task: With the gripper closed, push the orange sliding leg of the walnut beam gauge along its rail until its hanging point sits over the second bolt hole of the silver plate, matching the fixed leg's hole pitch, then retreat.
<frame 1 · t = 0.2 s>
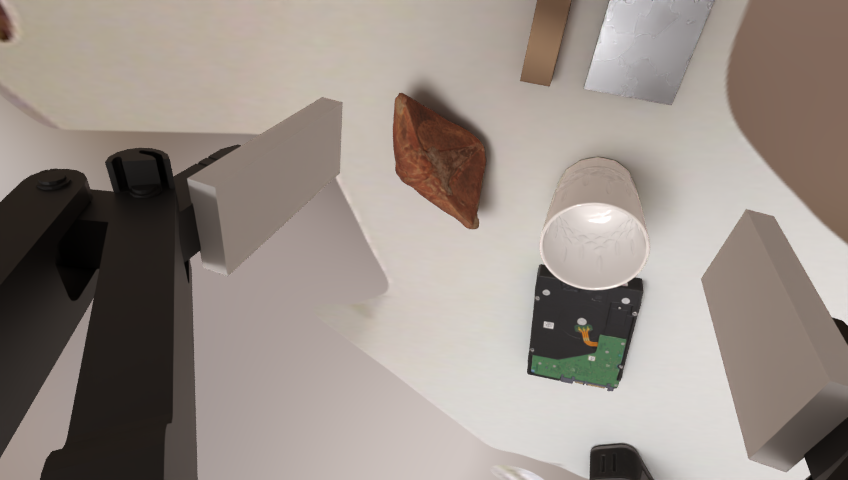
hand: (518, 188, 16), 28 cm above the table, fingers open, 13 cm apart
electronic device: (622, 464, 63), on the table
disk drive: (580, 320, 53), on the table
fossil: (445, 148, 46), on the table
white cup: (595, 189, 44), on the table
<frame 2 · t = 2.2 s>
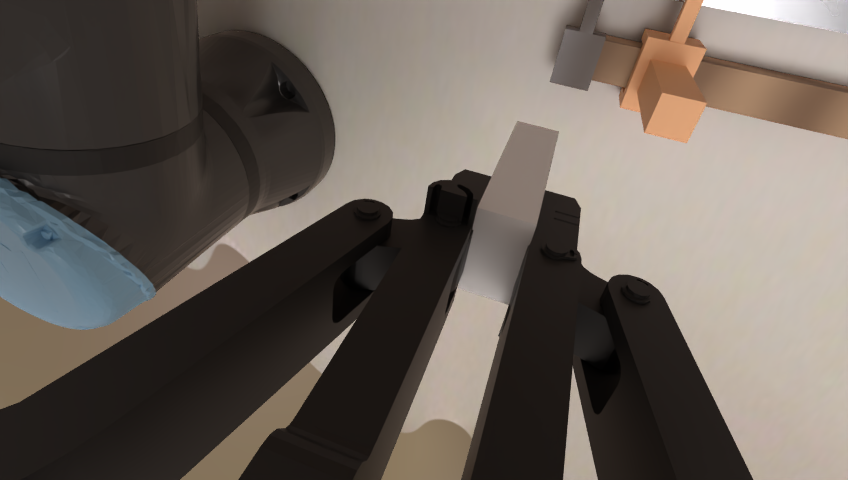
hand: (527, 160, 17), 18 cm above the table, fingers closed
beam: (789, 96, 29), on the table
sliding leg: (689, 35, 24), point 5 cm above the table, slide at -8.0 cm
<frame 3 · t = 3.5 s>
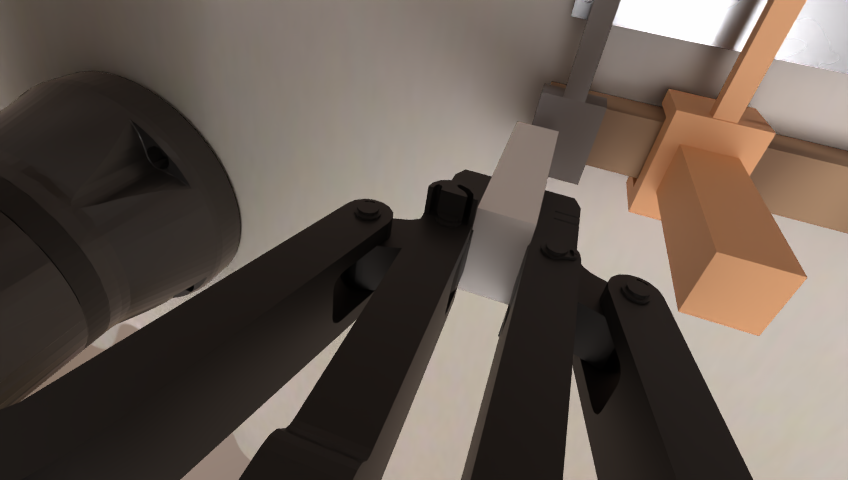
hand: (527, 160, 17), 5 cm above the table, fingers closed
sliding leg: (754, 120, 14), point 5 cm above the table, slide at -8.0 cm
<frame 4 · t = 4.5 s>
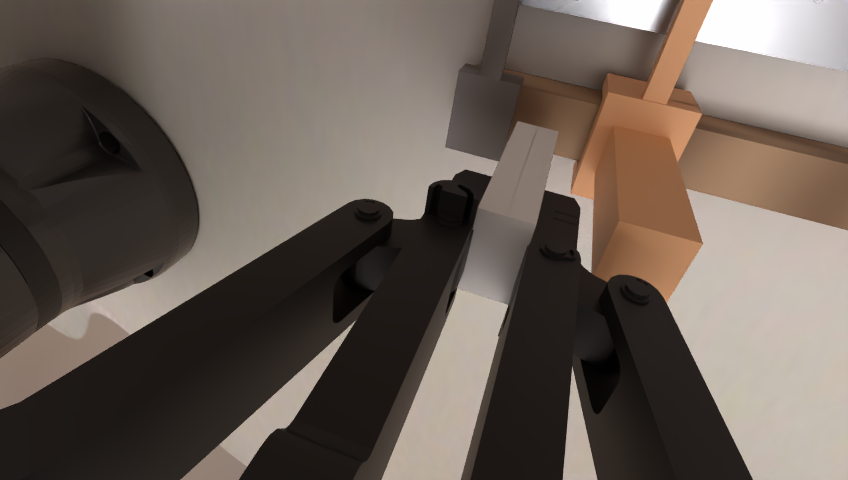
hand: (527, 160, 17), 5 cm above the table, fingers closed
beam: (805, 170, 19), on the table
sliding leg: (672, 98, 14), point 5 cm above the table, slide at -7.1 cm, touching gripper
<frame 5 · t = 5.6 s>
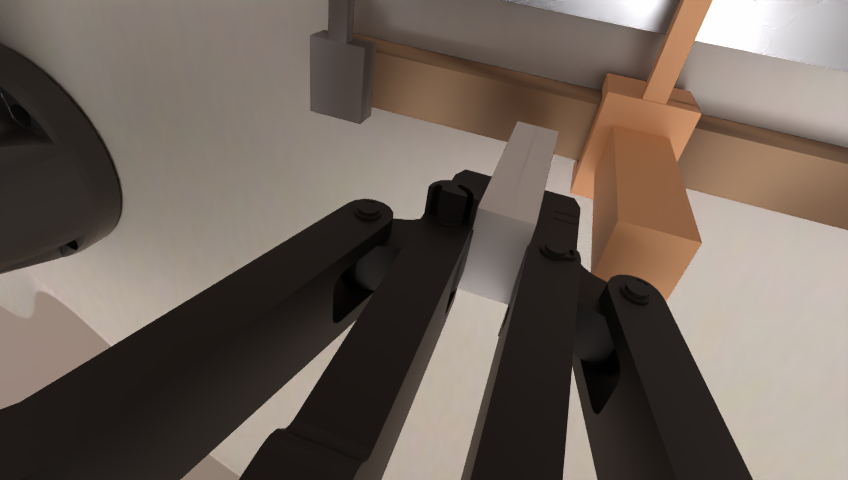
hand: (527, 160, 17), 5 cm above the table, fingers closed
beam: (645, 131, 20), on the table
sliding leg: (671, 98, 14), point 5 cm above the table, slide at -0.8 cm, touching gripper
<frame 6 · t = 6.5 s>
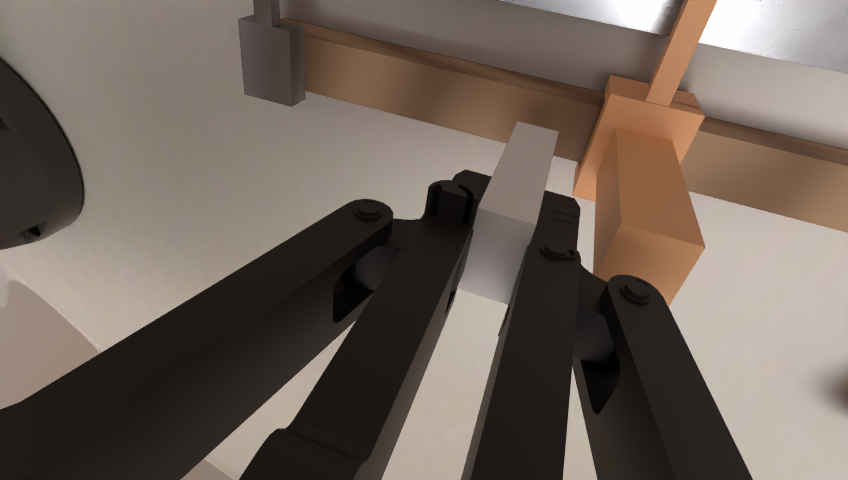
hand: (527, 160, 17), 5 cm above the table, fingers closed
beam: (569, 114, 21), on the table
sliding leg: (674, 100, 14), point 5 cm above the table, slide at 2.6 cm, touching gripper
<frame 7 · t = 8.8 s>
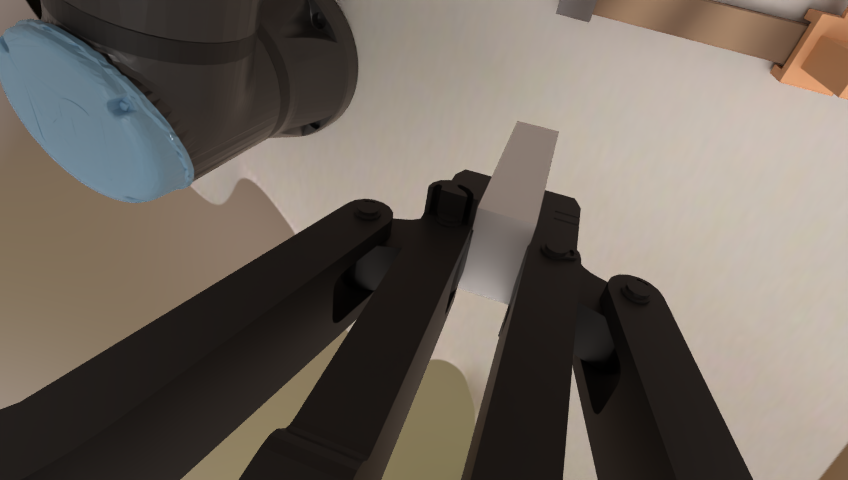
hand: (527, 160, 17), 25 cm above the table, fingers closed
beam: (768, 35, 33), on the table
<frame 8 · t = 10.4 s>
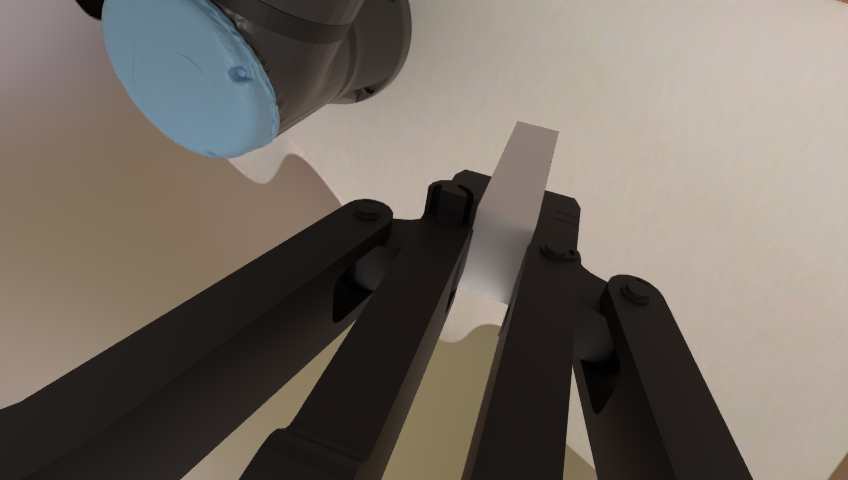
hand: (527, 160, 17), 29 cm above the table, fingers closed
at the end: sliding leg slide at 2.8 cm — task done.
